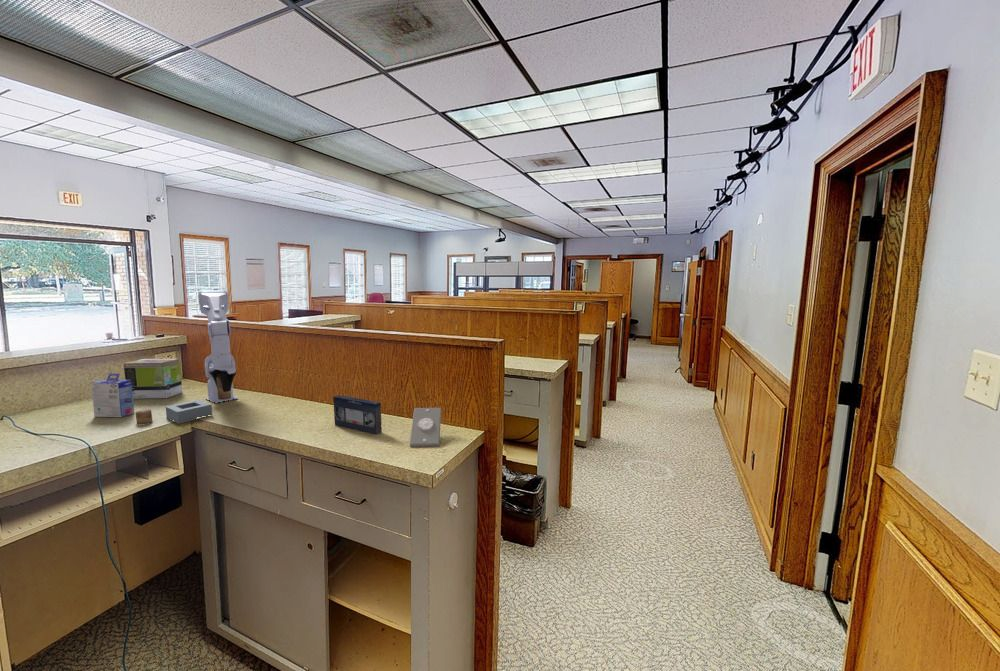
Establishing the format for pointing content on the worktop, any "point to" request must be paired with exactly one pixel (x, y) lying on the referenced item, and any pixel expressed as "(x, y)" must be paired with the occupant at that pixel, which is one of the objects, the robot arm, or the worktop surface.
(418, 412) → the light switch
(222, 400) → the robot arm
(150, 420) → the brown wooden cube
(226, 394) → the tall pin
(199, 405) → the block
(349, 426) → the vhs cassette tape
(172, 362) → the tea box
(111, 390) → the ink cartridge box
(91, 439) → the worktop surface
